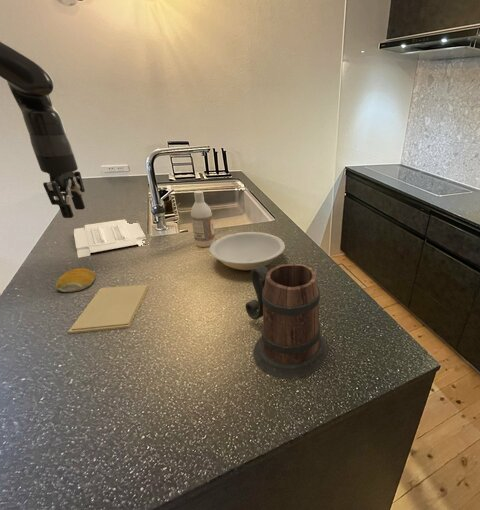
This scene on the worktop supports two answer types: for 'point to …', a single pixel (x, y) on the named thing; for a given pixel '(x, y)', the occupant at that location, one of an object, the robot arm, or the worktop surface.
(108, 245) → the tray
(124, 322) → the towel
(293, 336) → the tankard
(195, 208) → the bath foam
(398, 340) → the worktop surface
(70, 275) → the bread roll
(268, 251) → the soup bowl
